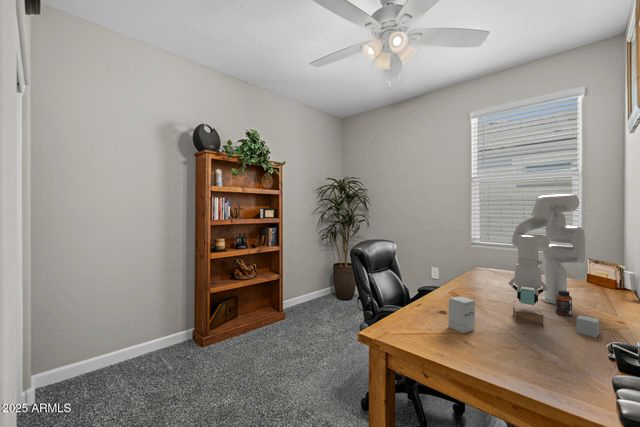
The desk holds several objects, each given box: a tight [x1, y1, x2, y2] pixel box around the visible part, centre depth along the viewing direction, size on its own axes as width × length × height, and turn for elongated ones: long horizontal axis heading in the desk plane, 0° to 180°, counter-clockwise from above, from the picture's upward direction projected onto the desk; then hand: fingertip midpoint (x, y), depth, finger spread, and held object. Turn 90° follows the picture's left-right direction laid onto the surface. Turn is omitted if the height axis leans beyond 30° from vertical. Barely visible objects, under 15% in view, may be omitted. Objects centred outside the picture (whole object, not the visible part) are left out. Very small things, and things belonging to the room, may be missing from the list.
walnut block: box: [512, 304, 545, 327], centre depth 129 cm, size 10×10×5 cm
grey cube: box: [575, 314, 600, 338], centre depth 115 cm, size 6×6×6 cm
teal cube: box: [520, 287, 535, 306], centre depth 128 cm, size 5×5×6 cm
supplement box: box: [448, 296, 476, 334], centre depth 118 cm, size 7×7×13 cm
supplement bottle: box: [555, 290, 573, 317], centre depth 136 cm, size 6×6×11 cm
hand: (527, 301), depth 129 cm, fingers closed on teal cube, 5 cm apart
